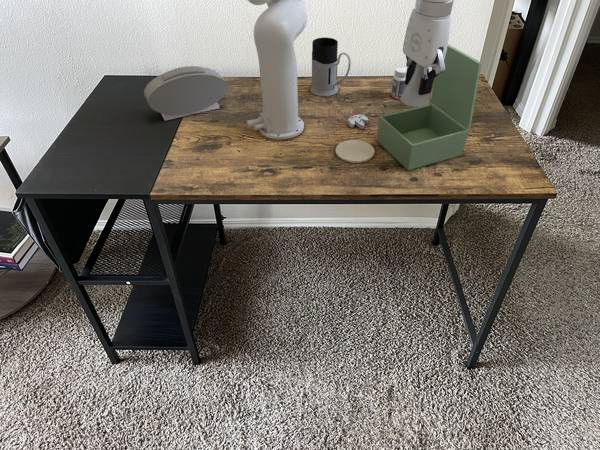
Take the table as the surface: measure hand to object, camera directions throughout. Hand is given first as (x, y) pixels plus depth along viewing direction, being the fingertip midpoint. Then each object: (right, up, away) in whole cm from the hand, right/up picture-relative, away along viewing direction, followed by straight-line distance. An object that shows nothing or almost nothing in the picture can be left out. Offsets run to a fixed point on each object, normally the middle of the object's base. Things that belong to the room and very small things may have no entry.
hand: (417, 87), depth 107 cm
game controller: (-13, -2, +23) cm, 26 cm away
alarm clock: (-60, +2, +29) cm, 67 cm away
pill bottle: (+3, +7, +33) cm, 34 cm away
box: (+3, -12, +12) cm, 17 cm away
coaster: (-13, -13, +11) cm, 22 cm away
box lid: (+9, +2, +3) cm, 10 cm away
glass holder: (-18, +9, +36) cm, 41 cm away
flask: (0, -3, +2) cm, 4 cm away
